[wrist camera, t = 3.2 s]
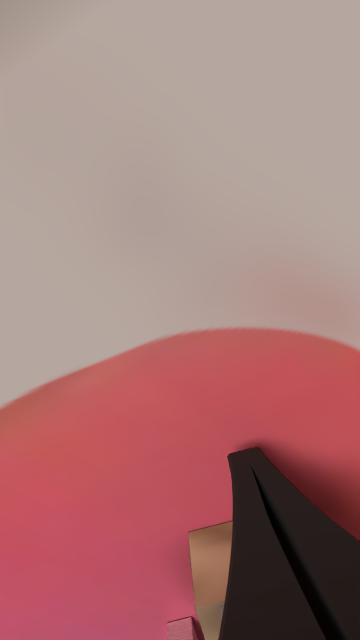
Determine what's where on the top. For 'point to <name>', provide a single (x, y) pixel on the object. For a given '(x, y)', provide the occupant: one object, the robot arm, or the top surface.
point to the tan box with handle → (210, 574)
